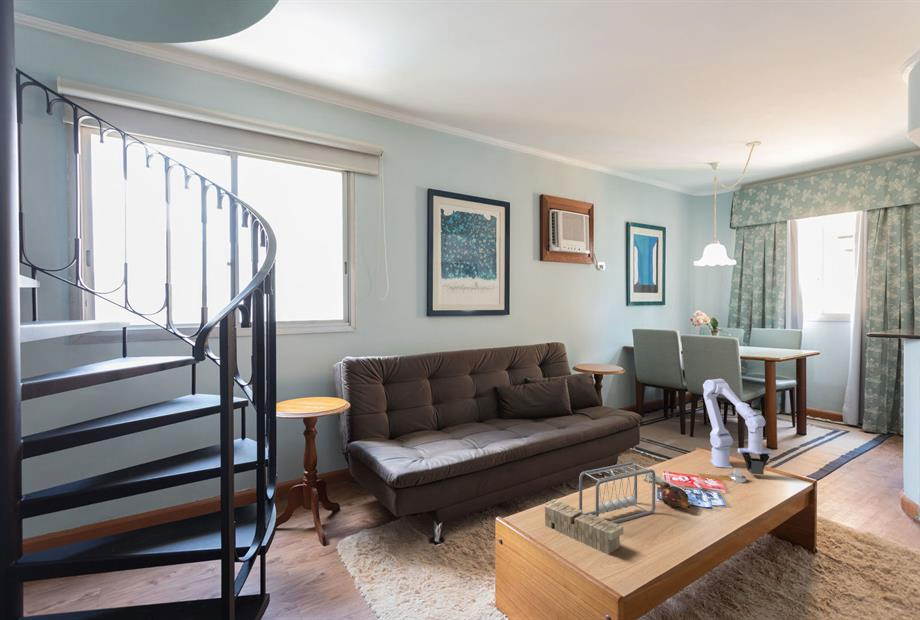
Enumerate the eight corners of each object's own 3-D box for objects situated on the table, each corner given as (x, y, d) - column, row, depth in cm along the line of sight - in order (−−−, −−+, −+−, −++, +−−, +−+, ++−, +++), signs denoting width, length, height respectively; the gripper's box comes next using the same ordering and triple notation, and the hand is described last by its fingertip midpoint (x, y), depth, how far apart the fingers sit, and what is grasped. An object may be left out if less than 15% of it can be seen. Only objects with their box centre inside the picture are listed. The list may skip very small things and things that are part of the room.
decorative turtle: (667, 496, 192) (669, 478, 192) (698, 513, 178) (700, 494, 178) (650, 499, 188) (652, 480, 188) (680, 517, 175) (682, 497, 174)
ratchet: (701, 480, 209) (701, 469, 209) (697, 475, 216) (697, 464, 216) (748, 483, 205) (748, 472, 205) (742, 478, 212) (742, 467, 212)
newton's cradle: (597, 529, 165) (597, 481, 164) (578, 516, 174) (578, 472, 174) (655, 513, 177) (655, 469, 177) (635, 502, 187) (635, 460, 186)
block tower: (542, 527, 169) (611, 557, 146) (541, 504, 169) (611, 532, 147) (554, 520, 174) (624, 548, 152) (554, 498, 174) (623, 524, 152)
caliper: (643, 481, 209) (643, 468, 209) (644, 480, 210) (644, 467, 209) (688, 495, 193) (688, 481, 193) (690, 494, 194) (690, 480, 194)
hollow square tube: (746, 469, 216) (746, 457, 216) (758, 470, 215) (758, 458, 215) (751, 473, 211) (751, 461, 211) (763, 474, 210) (763, 462, 210)
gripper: (742, 442, 210) (741, 470, 211) (776, 444, 207) (776, 473, 208) (736, 437, 217) (735, 465, 217) (769, 439, 214) (768, 467, 215)
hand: (755, 468), depth 213 cm, fingers closed on hollow square tube, 5 cm apart
